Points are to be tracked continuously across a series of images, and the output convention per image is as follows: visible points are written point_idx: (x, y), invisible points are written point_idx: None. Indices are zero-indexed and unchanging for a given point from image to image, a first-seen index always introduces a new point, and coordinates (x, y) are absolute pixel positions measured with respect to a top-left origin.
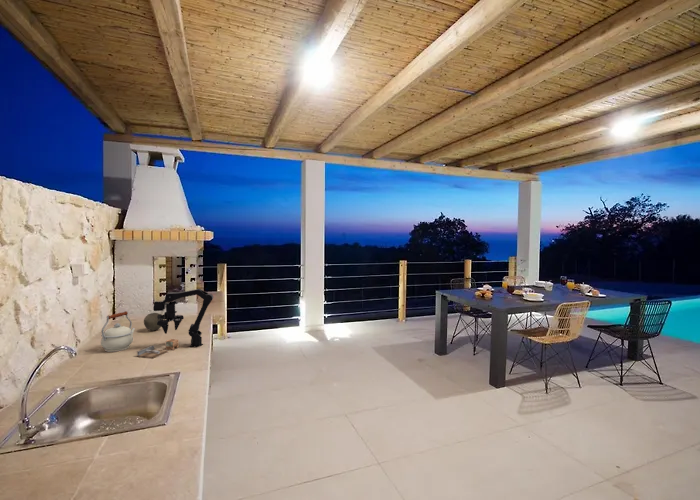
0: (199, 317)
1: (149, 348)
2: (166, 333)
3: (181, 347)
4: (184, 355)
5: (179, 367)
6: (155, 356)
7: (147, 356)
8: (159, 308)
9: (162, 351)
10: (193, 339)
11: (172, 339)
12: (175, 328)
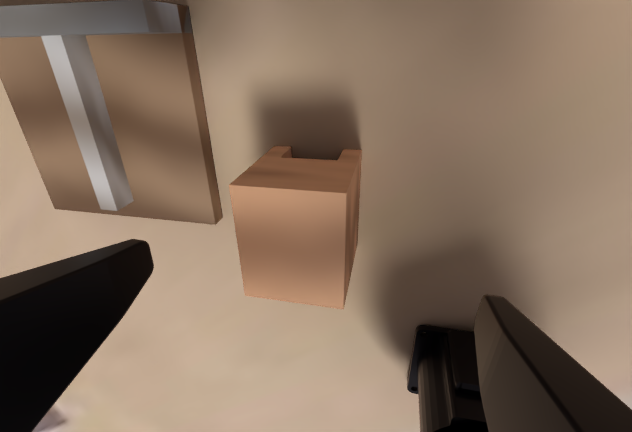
0: None
1: (84, 34)
2: (144, 274)
3: (378, 264)
4: (221, 366)
5: (90, 405)
6: (82, 208)
7: (31, 151)
8: None
9: (175, 193)
10: (421, 427)
11: (326, 230)
12: (489, 343)
